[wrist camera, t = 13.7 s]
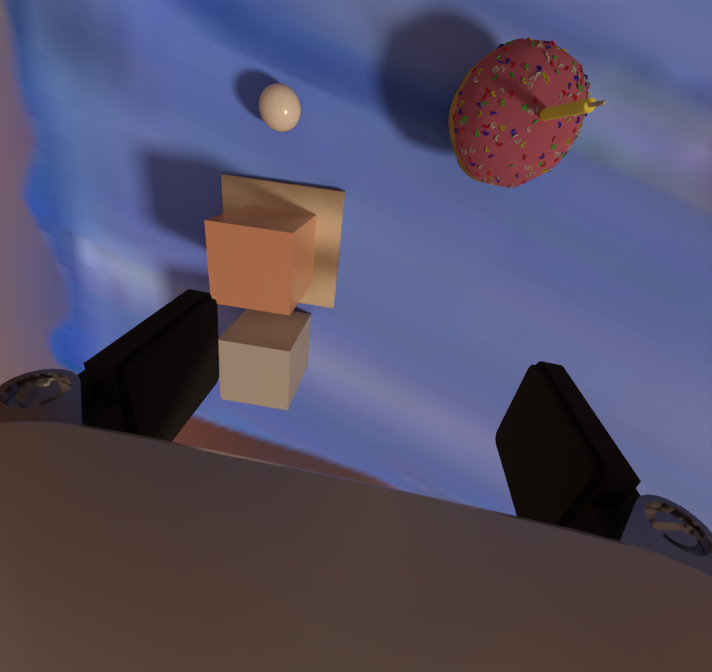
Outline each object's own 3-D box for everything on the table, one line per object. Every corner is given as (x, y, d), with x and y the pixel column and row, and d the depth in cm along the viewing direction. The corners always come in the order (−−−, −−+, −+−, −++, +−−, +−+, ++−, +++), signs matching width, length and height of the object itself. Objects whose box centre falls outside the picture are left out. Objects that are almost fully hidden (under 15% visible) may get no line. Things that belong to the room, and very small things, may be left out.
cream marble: (266, 84, 29) (251, 76, 26) (306, 89, 28) (295, 82, 26) (266, 130, 30) (252, 128, 27) (304, 135, 30) (293, 133, 27)
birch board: (224, 174, 32) (221, 174, 32) (345, 191, 32) (344, 192, 31) (229, 289, 37) (227, 291, 37) (333, 305, 37) (332, 307, 36)
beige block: (251, 304, 38) (216, 339, 31) (311, 313, 37) (289, 351, 30) (252, 355, 41) (221, 398, 34) (307, 364, 40) (287, 410, 33)
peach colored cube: (247, 204, 32) (204, 220, 25) (316, 214, 32) (292, 233, 25) (248, 272, 35) (210, 302, 28) (312, 282, 35) (289, 315, 28)
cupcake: (566, 46, 25) (683, -27, 15) (550, 176, 29) (633, 192, 19) (442, 65, 27) (469, 10, 16) (442, 187, 31) (463, 207, 20)
